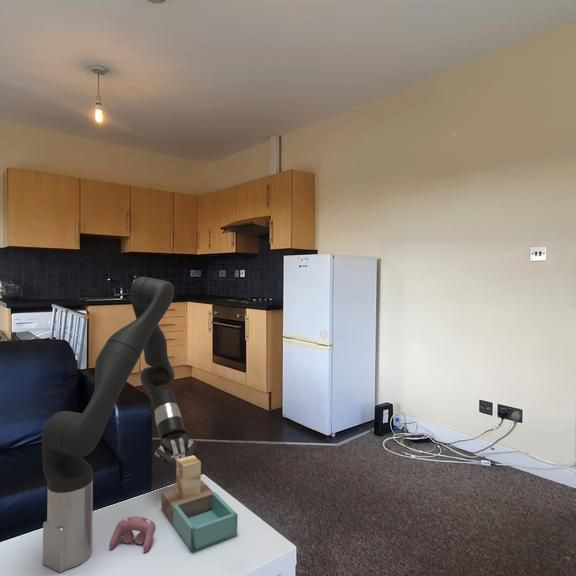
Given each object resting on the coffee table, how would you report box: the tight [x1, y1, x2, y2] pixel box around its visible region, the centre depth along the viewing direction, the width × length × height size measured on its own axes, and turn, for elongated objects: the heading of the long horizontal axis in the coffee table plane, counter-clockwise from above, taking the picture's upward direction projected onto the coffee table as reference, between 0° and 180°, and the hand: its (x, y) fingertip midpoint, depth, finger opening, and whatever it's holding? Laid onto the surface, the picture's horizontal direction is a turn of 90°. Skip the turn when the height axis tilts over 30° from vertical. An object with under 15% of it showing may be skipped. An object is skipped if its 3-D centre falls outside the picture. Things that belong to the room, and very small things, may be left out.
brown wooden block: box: [160, 480, 215, 527], centre depth 115 cm, size 9×12×5 cm
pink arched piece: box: [109, 516, 157, 553], centre depth 101 cm, size 10×5×7 cm, turn 85°
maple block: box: [175, 454, 202, 499], centre depth 115 cm, size 5×5×9 cm
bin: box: [172, 491, 238, 554], centre depth 106 cm, size 13×12×6 cm
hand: (183, 477), depth 118 cm, fingers closed
